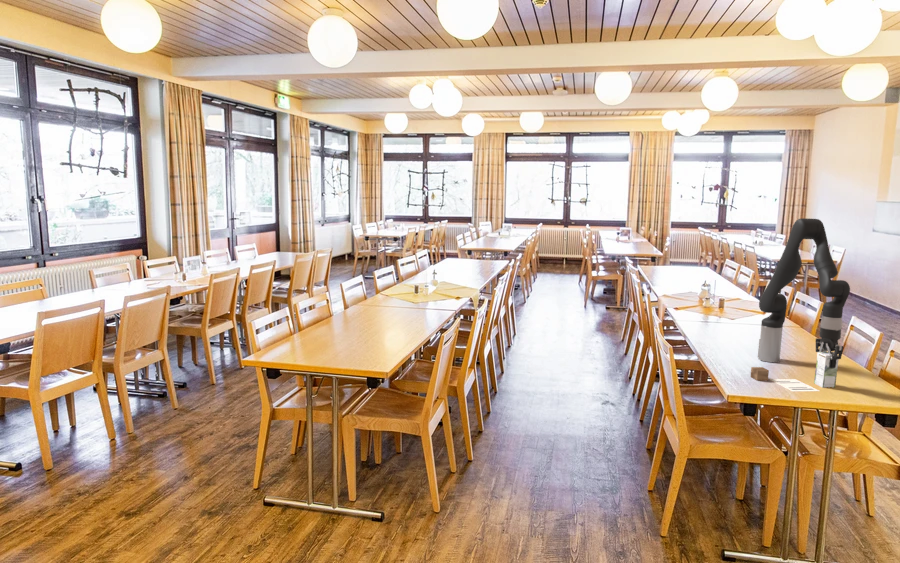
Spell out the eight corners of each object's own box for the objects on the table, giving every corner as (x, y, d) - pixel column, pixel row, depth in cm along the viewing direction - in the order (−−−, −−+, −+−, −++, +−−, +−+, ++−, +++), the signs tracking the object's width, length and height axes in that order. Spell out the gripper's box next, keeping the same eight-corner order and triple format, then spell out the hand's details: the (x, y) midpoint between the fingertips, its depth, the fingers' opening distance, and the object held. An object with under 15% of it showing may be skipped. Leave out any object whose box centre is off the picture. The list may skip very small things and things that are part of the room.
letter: (769, 380, 257) (769, 379, 257) (795, 379, 258) (795, 379, 258) (792, 392, 242) (792, 391, 242) (820, 391, 242) (820, 391, 242)
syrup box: (826, 383, 253) (829, 351, 251) (835, 388, 247) (839, 355, 245) (813, 383, 252) (816, 351, 250) (822, 388, 247) (826, 355, 245)
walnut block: (750, 377, 261) (751, 367, 260) (761, 377, 261) (762, 367, 260) (756, 381, 256) (757, 370, 255) (767, 381, 256) (768, 370, 255)
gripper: (810, 323, 253) (807, 361, 255) (834, 331, 238) (830, 370, 241) (827, 323, 253) (823, 360, 256) (851, 330, 239) (847, 370, 241)
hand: (826, 365), depth 248 cm, fingers closed on syrup box, 6 cm apart
